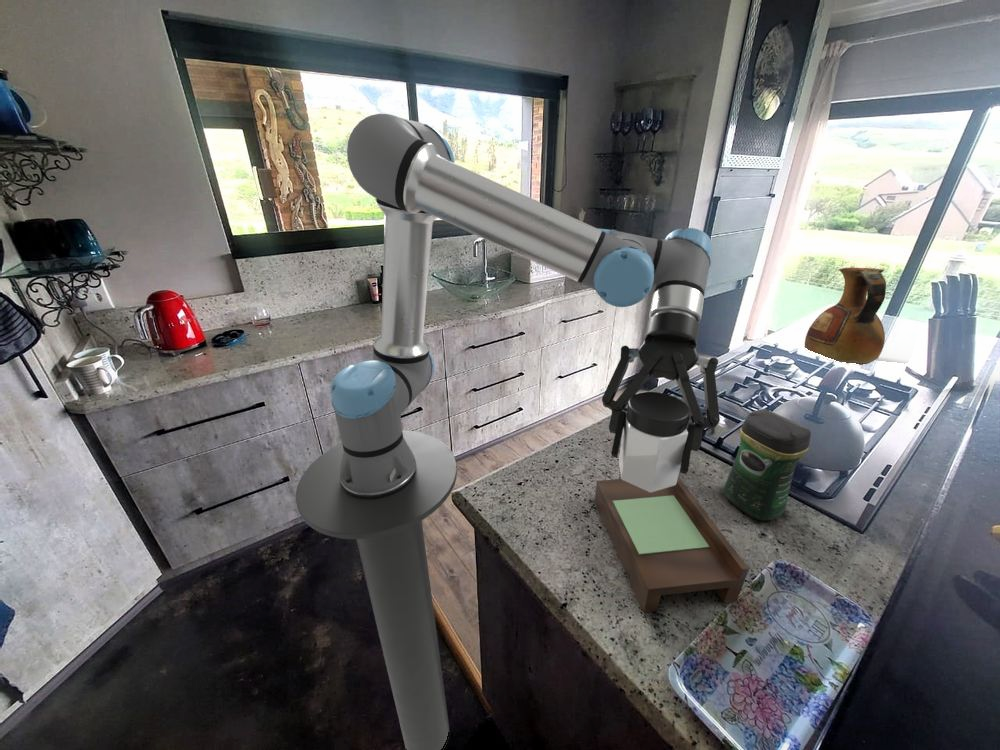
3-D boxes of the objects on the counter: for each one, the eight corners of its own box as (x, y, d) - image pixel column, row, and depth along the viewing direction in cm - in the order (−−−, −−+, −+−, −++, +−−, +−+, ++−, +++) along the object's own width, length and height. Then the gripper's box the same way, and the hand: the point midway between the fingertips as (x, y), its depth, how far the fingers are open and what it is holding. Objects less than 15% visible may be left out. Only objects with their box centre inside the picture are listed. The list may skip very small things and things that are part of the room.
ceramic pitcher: (847, 348, 142) (882, 261, 128) (891, 373, 124) (937, 275, 110) (788, 347, 143) (816, 261, 130) (823, 371, 125) (860, 274, 112)
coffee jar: (790, 514, 73) (825, 428, 65) (761, 528, 70) (793, 440, 62) (742, 481, 81) (768, 401, 73) (714, 492, 78) (737, 410, 70)
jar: (680, 496, 57) (698, 425, 52) (621, 490, 58) (632, 419, 53) (668, 457, 65) (682, 392, 59) (616, 452, 66) (625, 388, 61)
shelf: (594, 501, 76) (597, 472, 73) (664, 495, 78) (671, 466, 75) (643, 612, 57) (651, 579, 54) (736, 602, 58) (749, 568, 55)
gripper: (745, 341, 62) (727, 486, 56) (605, 324, 70) (576, 450, 64) (759, 318, 56) (740, 480, 50) (602, 302, 64) (570, 441, 58)
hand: (648, 463), depth 57 cm, fingers closed on jar, 9 cm apart
